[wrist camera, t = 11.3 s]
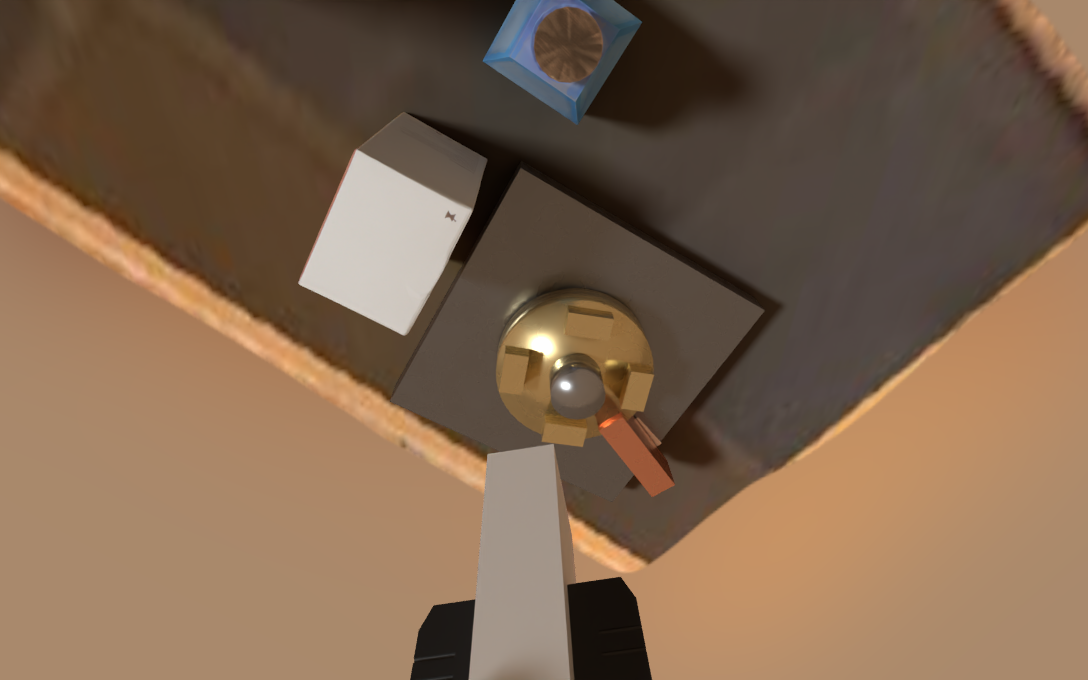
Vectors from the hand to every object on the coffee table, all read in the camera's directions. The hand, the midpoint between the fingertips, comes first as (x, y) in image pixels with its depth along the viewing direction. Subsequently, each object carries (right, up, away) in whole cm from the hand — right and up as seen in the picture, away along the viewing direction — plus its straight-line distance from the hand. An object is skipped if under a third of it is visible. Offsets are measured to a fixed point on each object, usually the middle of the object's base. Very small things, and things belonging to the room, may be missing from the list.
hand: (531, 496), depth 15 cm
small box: (-8, +14, +29) cm, 33 cm away
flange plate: (+2, +4, +35) cm, 35 cm away
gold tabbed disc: (+4, 0, +33) cm, 34 cm away
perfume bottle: (+1, +22, +25) cm, 34 cm away
